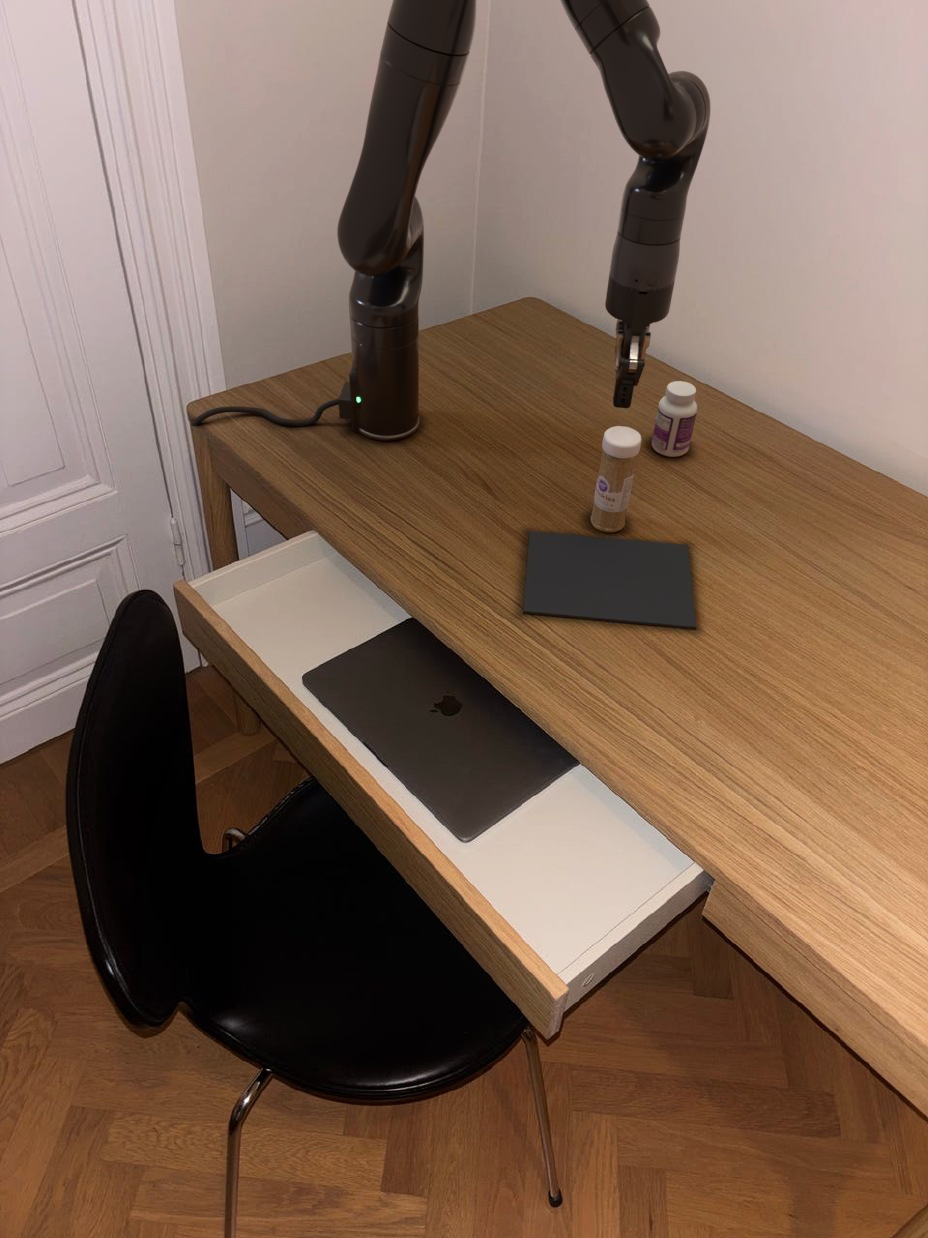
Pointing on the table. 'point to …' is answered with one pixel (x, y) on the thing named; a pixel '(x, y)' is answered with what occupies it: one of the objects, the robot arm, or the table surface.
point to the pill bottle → (675, 419)
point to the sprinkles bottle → (615, 478)
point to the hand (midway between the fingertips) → (621, 404)
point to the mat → (609, 580)
